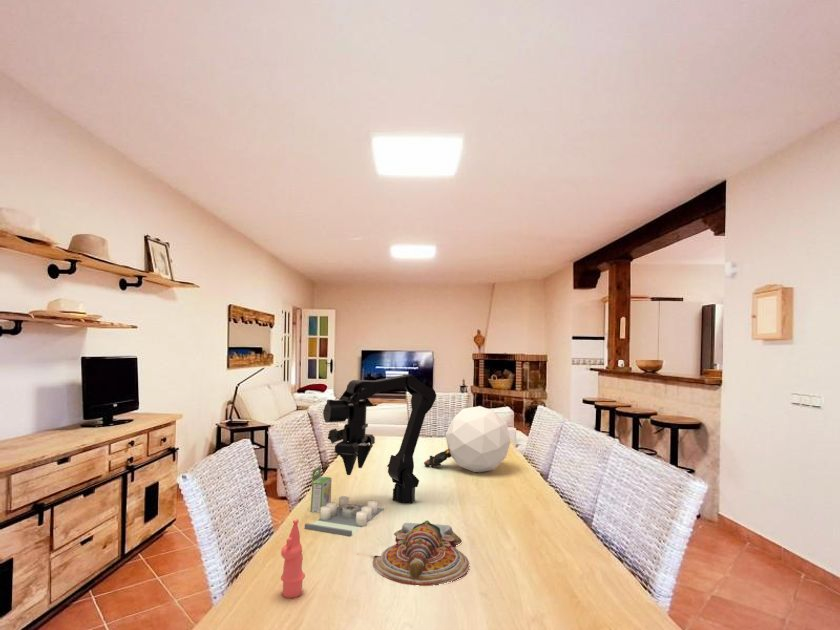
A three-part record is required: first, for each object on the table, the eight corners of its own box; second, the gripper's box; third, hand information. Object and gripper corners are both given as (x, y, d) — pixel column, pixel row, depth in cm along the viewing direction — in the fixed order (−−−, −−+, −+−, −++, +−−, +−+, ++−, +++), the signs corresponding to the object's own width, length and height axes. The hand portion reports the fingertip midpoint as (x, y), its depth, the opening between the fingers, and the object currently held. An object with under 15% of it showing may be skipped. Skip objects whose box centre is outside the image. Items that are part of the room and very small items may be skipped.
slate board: (384, 512, 152) (384, 504, 152) (350, 540, 129) (350, 531, 129) (344, 506, 156) (344, 499, 156) (304, 532, 133) (304, 524, 134)
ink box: (322, 516, 146) (324, 471, 147) (309, 515, 147) (311, 470, 148) (330, 509, 153) (332, 466, 154) (319, 507, 154) (320, 465, 155)
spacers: (382, 511, 149) (382, 501, 149) (363, 527, 136) (364, 515, 136) (340, 505, 153) (340, 495, 153) (318, 519, 140) (318, 508, 141)
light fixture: (522, 456, 189) (488, 391, 198) (433, 501, 193) (403, 436, 202) (524, 453, 215) (493, 396, 224) (445, 493, 218) (418, 435, 227)
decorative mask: (472, 511, 134) (469, 558, 104) (471, 538, 134) (468, 594, 104) (388, 505, 137) (362, 549, 108) (387, 531, 137) (361, 584, 107)
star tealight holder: (345, 512, 147) (345, 504, 148) (361, 514, 146) (361, 506, 146) (338, 517, 143) (338, 508, 143) (354, 519, 141) (355, 511, 142)
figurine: (281, 586, 103) (285, 514, 104) (306, 586, 104) (309, 514, 105) (276, 599, 98) (280, 523, 99) (302, 598, 99) (305, 523, 100)
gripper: (345, 415, 163) (342, 462, 162) (319, 423, 145) (317, 476, 144) (376, 417, 160) (374, 465, 159) (354, 425, 142) (352, 480, 141)
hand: (354, 471), depth 151 cm, fingers open, 9 cm apart
